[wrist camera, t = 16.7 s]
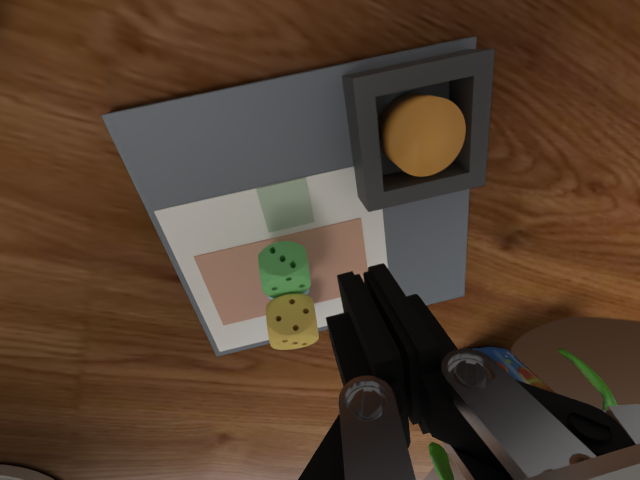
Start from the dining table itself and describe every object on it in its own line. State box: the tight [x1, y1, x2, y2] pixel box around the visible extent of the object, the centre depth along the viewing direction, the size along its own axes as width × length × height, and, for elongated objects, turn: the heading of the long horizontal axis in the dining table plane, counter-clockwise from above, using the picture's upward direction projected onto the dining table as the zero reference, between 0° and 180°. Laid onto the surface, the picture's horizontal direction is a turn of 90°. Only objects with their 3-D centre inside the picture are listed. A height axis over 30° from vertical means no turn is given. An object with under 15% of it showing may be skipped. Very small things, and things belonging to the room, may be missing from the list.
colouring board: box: [101, 37, 495, 356], centre depth 21 cm, size 18×20×4 cm
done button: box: [378, 92, 466, 177], centre depth 18 cm, size 4×4×2 cm
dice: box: [258, 241, 319, 350], centre depth 20 cm, size 8×3×6 cm, turn 5°
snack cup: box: [429, 347, 617, 480], centre depth 29 cm, size 16×10×10 cm
